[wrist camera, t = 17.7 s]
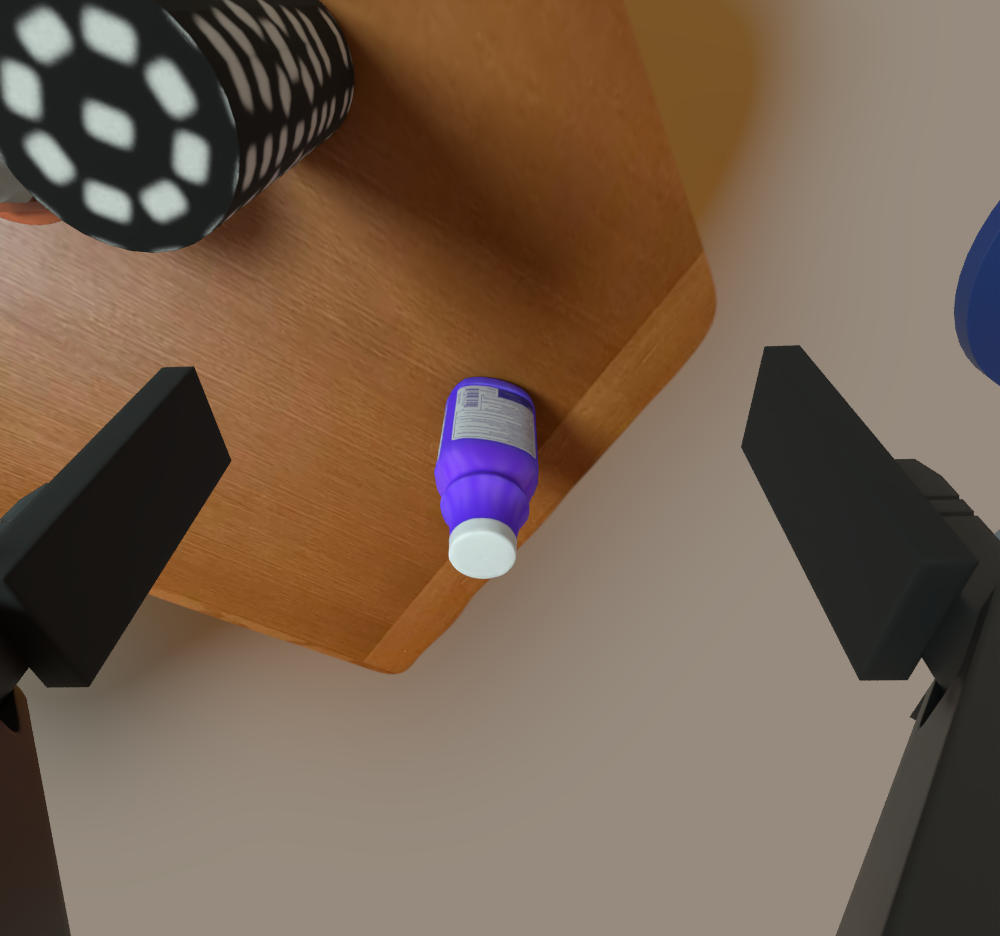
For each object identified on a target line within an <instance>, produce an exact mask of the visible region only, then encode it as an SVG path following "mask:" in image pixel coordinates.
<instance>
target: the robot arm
mask: <svg viewBox="0 0 1000 936" xmlns="http://www.w3.org/2000/svg"><path fill="white" fill-rule="evenodd" d="M741 448H742V450H743V452H744V454H745V455H746V457H747V459H748V461H749V463H750V465H751V467H752V469H753V471H754V473H755V475H756V477H757V479H758V481H759V483H760V485H761V487H762V489H763V491H764V493H765V495H766V497H767V499H768V501H769V503H770V505H771V507H772V509H773V511H774V513H775V515H776V517H777V518H778V521H779V523H780V524H781V527H782V528H783V530H784V532H785V534H786V536H787V538H788V540H789V542H790V544H791V546H792V548H793V550H794V552H795V554H796V556H797V558H798V560H799V562H800V564H801V566H802V568H803V570H804V572H805V574H806V576H807V578H808V580H809V582H810V584H811V585H812V588H813V590H814V592H815V594H816V596H817V598H818V599H819V601H820V603H821V605H822V607H823V609H824V611H825V613H826V615H827V617H828V619H829V621H830V623H831V625H832V627H833V629H834V631H835V633H836V635H837V637H838V639H839V641H840V643H841V645H842V647H843V649H844V651H845V653H846V655H847V656H848V659H849V661H850V663H851V665H852V666H853V668H854V670H855V672H856V674H857V676H858V678H859V680H908V679H909V677H910V675H911V674H912V672H913V670H914V669H915V667H916V666H917V664H918V662H919V661H920V659H921V657H922V658H923V660H924V662H925V663H926V665H927V666H928V668H929V669H930V671H931V673H932V674H933V676H934V678H935V679H934V681H933V683H932V684H931V686H930V687H929V689H928V690H927V692H926V693H925V695H924V696H923V698H922V699H921V701H920V702H919V704H918V705H917V707H916V708H915V710H914V711H913V713H912V714H911V716H910V717H911V718H913V719H915V720H916V722H915V725H914V727H913V730H912V733H911V736H910V738H909V741H908V744H907V746H906V749H905V751H904V754H903V757H902V759H901V762H900V765H899V767H898V770H897V773H896V776H895V778H894V781H893V784H892V786H891V789H890V792H889V794H888V797H887V800H886V802H885V805H884V808H883V810H882V813H881V816H880V818H879V821H878V824H877V826H876V829H875V832H874V835H873V838H872V840H871V843H870V845H869V848H868V851H867V853H866V856H865V859H864V861H863V864H862V867H861V869H860V872H859V875H858V877H857V880H856V883H855V885H854V888H853V891H852V894H851V896H850V899H849V902H848V904H847V907H846V910H845V912H844V915H843V918H842V921H841V923H840V926H839V928H838V931H837V934H836V936H1000V530H998V531H997V532H996V533H995V534H994V533H993V532H992V531H991V530H990V529H989V528H988V527H987V526H986V525H985V524H984V522H983V521H982V520H981V519H980V518H979V517H978V516H974V511H973V510H972V509H971V508H970V507H969V506H968V505H967V504H966V502H965V501H964V500H963V499H959V495H958V494H957V492H956V491H955V490H954V489H953V488H952V487H951V486H950V485H949V484H948V482H947V481H946V480H945V479H944V478H943V477H942V476H941V475H939V474H938V473H936V472H935V471H933V470H931V469H930V468H928V467H927V466H925V465H923V464H922V463H920V462H919V461H917V460H915V459H894V458H893V457H892V456H891V455H890V454H889V452H888V451H887V450H886V449H885V448H884V446H883V445H882V444H881V443H880V441H879V440H878V439H877V438H876V437H875V435H874V434H873V433H872V432H871V431H870V430H869V428H868V427H867V426H866V425H865V423H864V422H863V421H862V420H861V419H860V417H859V416H858V415H857V414H856V413H855V412H854V410H853V409H852V408H851V407H850V406H849V404H848V403H847V402H846V401H845V399H844V398H843V397H842V396H841V395H840V393H839V392H838V391H837V390H836V389H835V387H834V386H833V385H832V384H831V383H830V381H829V380H828V379H827V378H826V377H825V375H824V374H823V373H822V372H821V370H820V369H819V368H818V367H817V366H816V365H815V364H814V362H813V361H812V360H811V358H810V357H809V356H808V355H807V354H806V352H805V351H804V350H803V349H802V348H801V346H799V345H794V346H767V347H765V348H764V352H763V356H762V360H761V364H760V368H759V373H758V377H757V382H756V386H755V390H754V394H753V399H752V403H751V408H750V411H749V416H748V420H747V424H746V429H745V433H744V437H743V441H742V446H741ZM230 462H231V458H230V456H229V453H228V451H227V448H226V446H225V443H224V441H223V438H222V436H221V433H220V431H219V428H218V426H217V423H216V421H215V418H214V416H213V413H212V411H211V408H210V405H209V403H208V400H207V398H206V395H205V393H204V390H203V388H202V385H201V383H200V380H199V378H198V375H197V373H196V370H195V368H194V367H165V368H161V369H160V370H159V371H158V373H157V374H156V375H155V376H154V377H153V378H152V379H151V380H150V381H149V382H148V383H147V384H146V385H145V386H144V387H143V388H142V389H141V390H140V391H139V392H138V393H137V394H136V395H135V396H134V397H133V398H132V399H131V400H130V401H129V402H128V403H127V404H126V405H125V406H124V407H123V408H122V409H121V410H120V411H119V412H118V413H117V414H116V415H115V416H114V417H113V418H112V419H111V420H110V421H109V422H108V423H107V424H106V425H105V426H104V427H103V428H102V430H101V431H100V432H99V433H98V434H97V435H96V436H95V437H94V438H93V439H92V440H91V441H90V442H89V443H88V444H87V445H86V446H85V447H84V448H83V449H82V450H81V451H80V452H79V453H78V454H77V455H76V456H75V457H74V458H73V459H72V460H71V461H70V462H69V463H68V464H67V465H66V466H65V467H64V468H63V469H62V470H61V471H60V472H59V473H58V474H57V475H56V476H55V477H54V478H53V479H52V480H51V481H50V482H49V483H46V484H44V485H42V486H41V487H39V488H38V489H36V490H35V491H33V492H31V493H30V494H28V495H27V496H25V497H24V498H22V499H20V500H19V501H18V502H17V503H16V504H15V505H14V506H13V507H12V508H11V509H10V510H9V511H8V512H7V513H6V514H5V515H4V516H3V517H2V518H1V519H0V520H1V522H0V936H71V935H70V929H69V924H68V918H67V913H66V908H65V902H64V897H63V892H62V887H61V881H60V876H59V870H58V865H57V860H56V854H55V849H54V844H53V838H52V833H51V828H50V822H49V817H48V811H47V806H46V801H45V796H44V790H43V785H42V780H41V774H40V769H39V764H38V758H37V753H36V747H35V742H34V737H33V732H32V726H31V721H30V715H29V710H28V705H27V699H26V697H25V695H24V694H23V692H22V691H21V689H20V688H19V687H18V686H17V685H16V684H17V683H18V681H19V680H20V679H21V677H22V676H23V675H24V673H25V672H26V671H27V669H28V668H29V667H30V669H31V670H32V671H33V672H34V673H35V674H36V676H38V678H39V679H40V680H41V681H42V682H43V684H44V685H45V686H46V687H89V686H90V685H91V683H92V681H93V680H94V678H95V677H96V675H97V674H98V672H99V670H100V669H101V667H102V666H103V664H104V662H105V661H106V659H107V658H108V656H109V654H110V653H111V651H112V650H113V648H114V647H115V645H116V643H117V642H118V640H119V639H120V637H121V635H122V634H123V632H124V631H125V629H126V628H127V626H128V624H129V623H130V621H131V619H132V618H133V616H134V615H135V613H136V611H137V610H138V608H139V607H140V605H141V604H142V602H143V600H144V599H145V597H146V596H147V594H148V593H149V591H150V589H151V588H152V586H153V585H154V583H155V581H156V580H157V578H158V577H159V575H160V573H161V572H162V570H163V569H164V567H165V566H166V564H167V562H168V561H169V559H170V558H171V556H172V554H173V553H174V551H175V550H176V548H177V546H178V545H179V543H180V542H181V540H182V539H183V537H184V535H185V534H186V532H187V531H188V529H189V527H190V526H191V524H192V523H193V521H194V519H195V518H196V516H197V515H198V513H199V512H200V510H201V508H202V507H203V505H204V504H205V502H206V500H207V499H208V497H209V496H210V494H211V492H212V491H213V489H214V488H215V486H216V484H217V483H218V481H219V480H220V478H221V477H222V475H223V473H224V472H225V470H226V469H227V467H228V465H229V464H230Z"/></svg>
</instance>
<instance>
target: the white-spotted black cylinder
mask: <svg viewBox="0 0 1000 936" xmlns="http://www.w3.org/2000/svg"><path fill="white" fill-rule="evenodd" d="M353 91H354V68H353V63H352V59H351V54H350V50H349V47H348V45H347V42H346V40H345V37H344V35H343V33H342V31H341V29H340V28H339V26H338V24H337V22H336V20H335V19H334V18H333V16H332V15H331V14H330V13H329V11H328V10H327V9H326V8H325V6H324V5H323V4H322V3H320V2H319V1H318V0H0V157H1V159H2V160H3V161H4V163H5V164H6V166H7V167H8V168H9V170H10V171H11V172H12V174H13V175H14V176H15V178H16V179H17V180H18V181H19V182H20V183H21V184H22V185H23V186H24V187H25V188H26V189H27V190H28V191H29V193H30V194H31V195H32V196H33V197H34V198H35V199H36V200H37V201H38V202H40V203H41V204H42V205H43V206H44V207H46V208H47V209H48V210H49V211H51V212H52V213H53V214H54V215H55V216H57V217H58V218H59V219H61V220H62V221H64V222H65V223H67V224H69V225H70V226H72V227H73V228H75V229H77V230H78V231H80V232H81V233H83V234H85V235H87V236H90V237H92V238H94V239H96V240H99V241H101V242H103V243H105V244H108V245H112V246H115V247H119V248H123V249H126V250H130V251H139V252H150V253H157V252H166V251H175V250H178V249H181V248H184V247H187V246H190V245H193V244H195V243H196V242H198V241H199V240H201V239H202V238H204V237H205V236H207V235H208V234H210V233H211V232H213V231H214V230H215V229H216V228H217V227H219V226H220V225H221V224H222V223H224V222H225V221H226V220H227V219H229V218H230V217H231V216H232V215H234V214H235V213H236V212H237V211H239V210H240V209H241V208H242V207H244V206H245V205H246V204H247V203H248V202H250V201H251V200H252V199H253V198H255V197H256V196H257V195H258V194H260V193H261V192H262V191H263V190H265V189H266V188H267V187H268V186H270V185H271V184H272V183H273V182H275V181H276V180H277V179H278V178H279V177H281V176H282V175H283V174H284V173H286V172H287V171H288V170H289V169H291V168H292V167H293V166H294V165H296V164H297V163H298V162H299V161H301V160H302V159H303V158H304V157H305V156H307V155H308V154H309V153H310V152H312V151H313V150H314V149H315V148H317V147H318V146H319V145H320V144H322V143H323V142H324V141H325V140H327V139H328V138H329V137H330V136H332V135H333V134H334V133H335V131H336V130H337V129H338V128H339V127H340V126H341V125H342V123H343V121H344V119H345V118H346V116H347V114H348V112H349V109H350V105H351V102H352V99H353Z"/></svg>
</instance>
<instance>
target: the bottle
mask: <svg viewBox="0 0 1000 936" xmlns="http://www.w3.org/2000/svg"><path fill="white" fill-rule="evenodd" d="M434 475H435V479H436V485H437V489H438V492H439V493H440V495H441V497H442V498H441V502H440V508H441V512H442V516H443V518H444V520H445V522H446V523H447V525H448V526H449V527H450V538H449V559H450V561H451V563H452V565H453V566H454V567H455V568H456V569H457V570H458V571H459V572H461V573H463V574H465V575H467V576H470V577H473V578H479V579H489V578H495V577H498V576H501V575H503V574H504V573H506V572H507V571H509V570H510V569H511V568H512V566H513V565H514V563H515V561H516V548H517V535H518V532H519V529H520V528H521V527H522V526H523V525H524V524H525V522H526V521H527V519H528V516H529V502H530V500H531V497H532V496H533V495H534V492H535V490H536V487H537V484H538V454H537V435H536V418H535V407H534V404H533V402H532V400H531V398H530V396H529V395H528V394H527V393H526V392H525V391H524V390H523V389H521V388H519V387H518V386H516V385H514V384H511V383H509V382H506V381H503V380H499V379H494V378H488V377H471V378H465V379H464V380H462V381H461V382H459V383H458V384H457V385H456V386H455V388H454V389H453V390H452V392H451V394H450V396H449V397H448V399H447V403H446V407H445V416H444V421H443V428H442V434H441V440H440V447H439V452H438V459H437V463H436V468H435V472H434Z"/></svg>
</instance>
